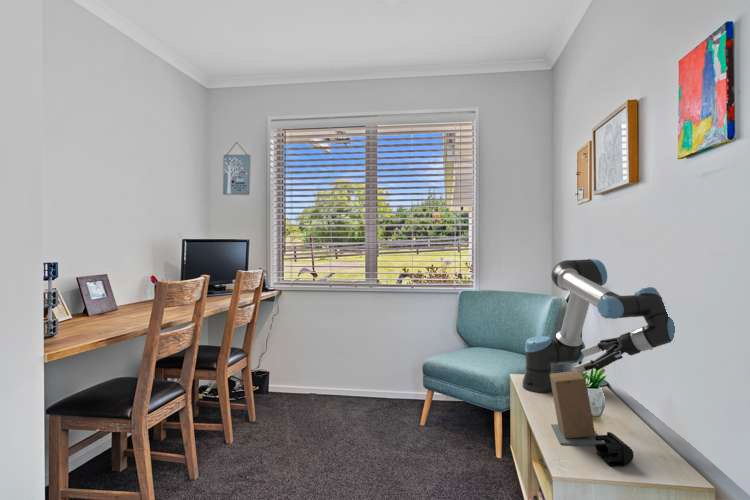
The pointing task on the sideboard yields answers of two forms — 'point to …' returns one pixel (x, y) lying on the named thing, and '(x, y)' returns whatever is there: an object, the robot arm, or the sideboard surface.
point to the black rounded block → (613, 450)
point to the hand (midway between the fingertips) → (579, 361)
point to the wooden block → (572, 404)
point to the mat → (575, 441)
